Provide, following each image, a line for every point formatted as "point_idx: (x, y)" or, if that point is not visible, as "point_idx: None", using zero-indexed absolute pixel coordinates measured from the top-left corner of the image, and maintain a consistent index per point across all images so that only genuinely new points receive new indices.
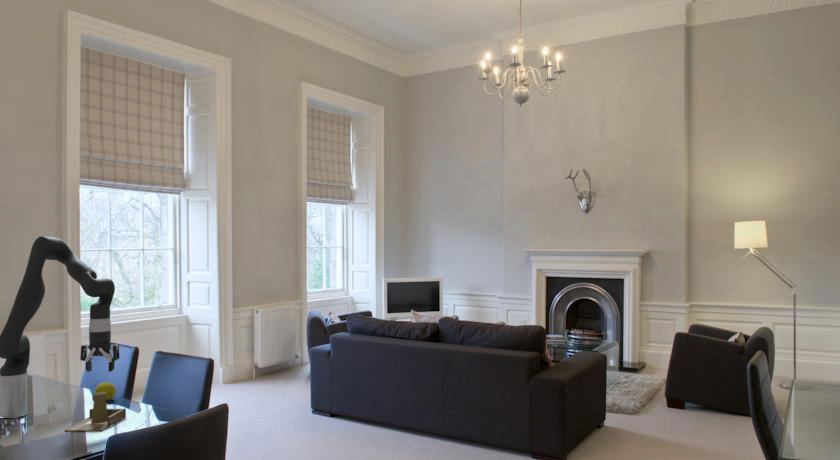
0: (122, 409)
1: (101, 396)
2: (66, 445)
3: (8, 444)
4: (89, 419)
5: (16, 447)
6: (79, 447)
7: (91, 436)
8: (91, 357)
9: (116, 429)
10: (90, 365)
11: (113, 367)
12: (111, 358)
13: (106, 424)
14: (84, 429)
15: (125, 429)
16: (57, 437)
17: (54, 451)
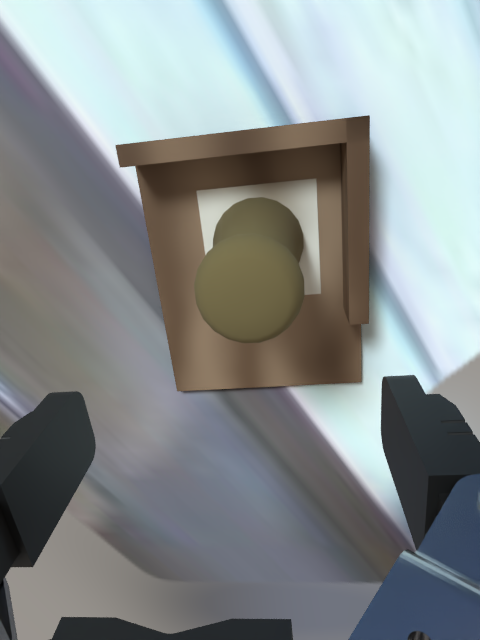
0: (356, 142)
1: (286, 328)
2: (313, 528)
3: (84, 521)
4: (174, 218)
5: (141, 545)
6: (379, 544)
7: (350, 438)
8: (8, 635)
9: (419, 344)
10: (48, 469)
11: (451, 428)
12: (464, 548)
13: (334, 299)
14: (269, 381)
15: (469, 342)
16: (207, 453)
17: (310, 575)
